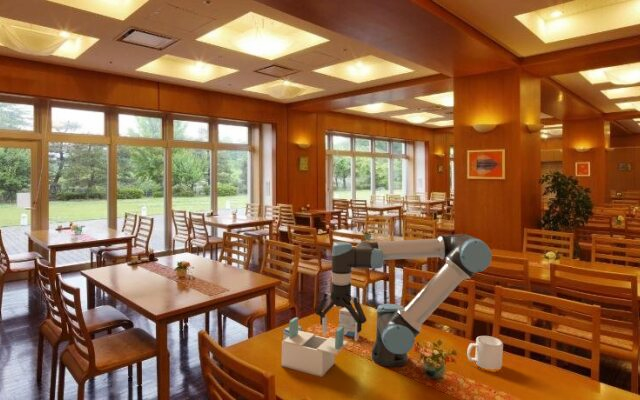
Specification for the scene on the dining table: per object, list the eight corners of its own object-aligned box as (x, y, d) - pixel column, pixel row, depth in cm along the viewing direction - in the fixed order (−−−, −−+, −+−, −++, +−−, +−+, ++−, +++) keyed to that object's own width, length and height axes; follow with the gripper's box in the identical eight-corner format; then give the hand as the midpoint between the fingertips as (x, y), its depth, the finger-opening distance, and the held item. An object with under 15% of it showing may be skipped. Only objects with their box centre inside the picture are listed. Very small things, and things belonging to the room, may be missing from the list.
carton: (334, 363, 162) (334, 339, 162) (321, 376, 152) (322, 351, 151) (295, 354, 170) (296, 331, 169) (281, 366, 159) (281, 342, 159)
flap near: (348, 342, 159) (348, 324, 159) (336, 354, 148) (337, 335, 148) (329, 338, 163) (329, 320, 162) (316, 350, 152) (317, 330, 151)
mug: (472, 371, 159) (473, 345, 158) (463, 359, 169) (464, 335, 168) (506, 372, 158) (507, 346, 158) (495, 360, 169) (496, 336, 168)
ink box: (358, 334, 193) (359, 310, 192) (353, 337, 189) (354, 313, 188) (343, 330, 197) (343, 306, 197) (338, 333, 193) (338, 309, 192)
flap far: (314, 335, 166) (315, 317, 165) (301, 346, 155) (301, 327, 154) (297, 331, 169) (297, 314, 169) (283, 342, 158) (283, 323, 158)
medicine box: (294, 342, 182) (295, 323, 182) (302, 345, 179) (302, 326, 179) (282, 347, 176) (283, 328, 175) (290, 350, 173) (290, 331, 173)
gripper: (375, 284, 151) (374, 338, 152) (316, 276, 161) (315, 327, 163) (369, 289, 144) (367, 346, 145) (308, 280, 155) (307, 333, 156)
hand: (340, 336), depth 154 cm, fingers open, 13 cm apart
